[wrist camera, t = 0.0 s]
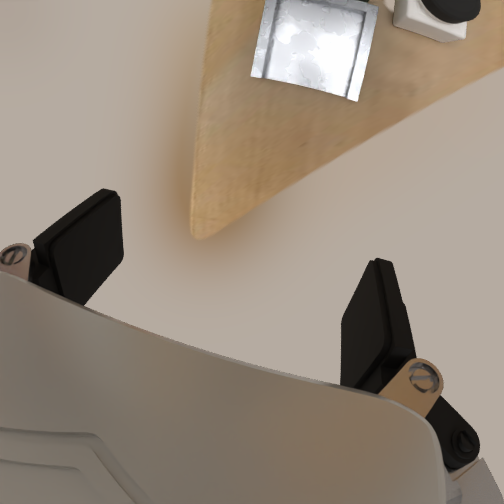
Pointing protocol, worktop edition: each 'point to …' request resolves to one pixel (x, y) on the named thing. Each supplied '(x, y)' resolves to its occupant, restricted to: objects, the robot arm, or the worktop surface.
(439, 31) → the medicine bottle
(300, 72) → the grey and green bracket
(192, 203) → the worktop surface
